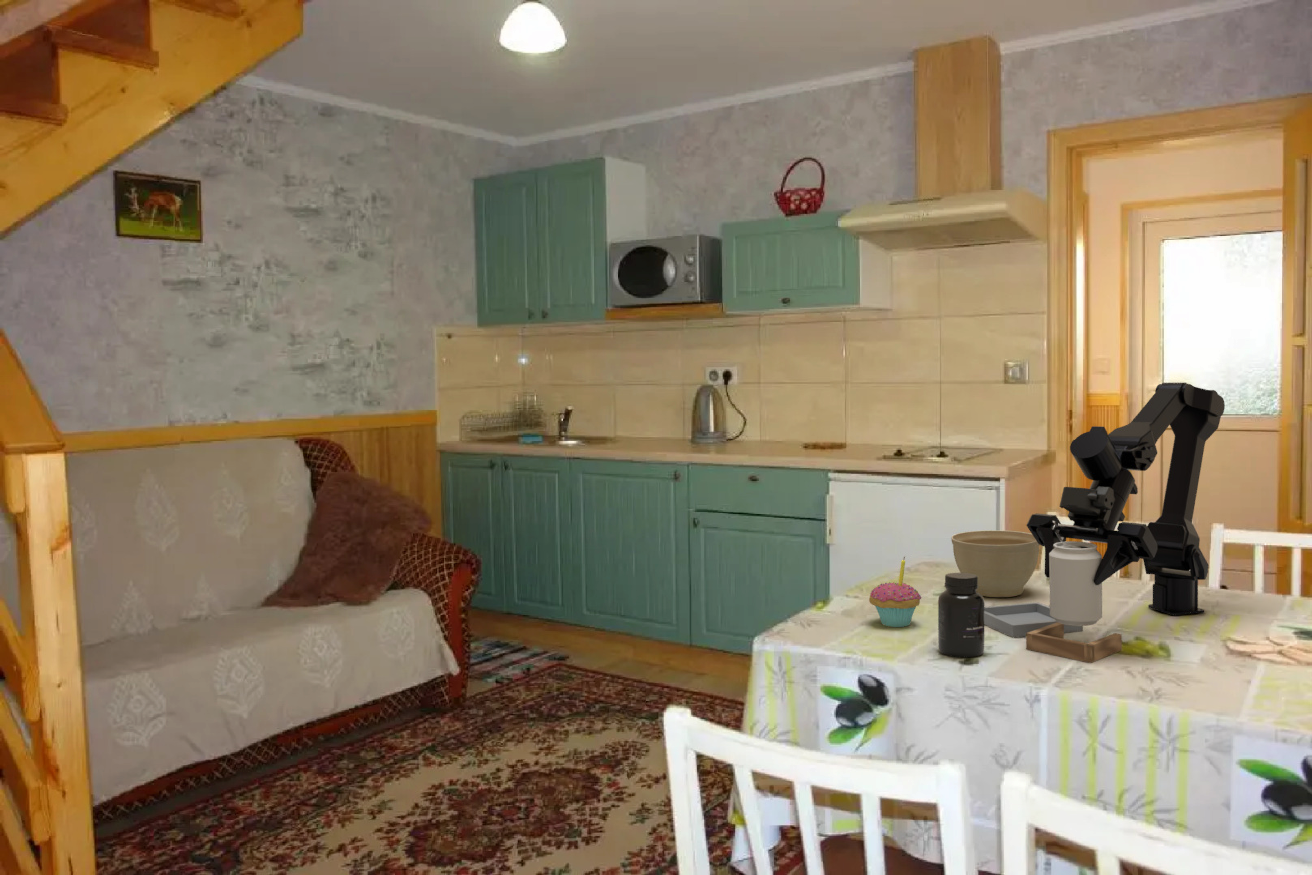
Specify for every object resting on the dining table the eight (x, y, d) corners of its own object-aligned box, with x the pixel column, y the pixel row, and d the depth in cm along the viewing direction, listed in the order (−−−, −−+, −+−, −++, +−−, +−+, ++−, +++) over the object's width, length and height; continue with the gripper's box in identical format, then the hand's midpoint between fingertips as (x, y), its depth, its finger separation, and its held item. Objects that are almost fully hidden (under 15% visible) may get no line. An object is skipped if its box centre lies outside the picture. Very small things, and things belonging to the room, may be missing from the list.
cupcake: (929, 622, 176) (928, 553, 175) (905, 633, 170) (903, 561, 169) (885, 615, 182) (884, 548, 181) (860, 625, 176) (858, 556, 175)
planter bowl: (968, 580, 208) (967, 527, 207) (1050, 588, 198) (1050, 533, 197) (939, 596, 195) (939, 540, 194) (1026, 606, 185) (1026, 546, 184)
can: (1107, 627, 153) (1107, 548, 152) (1054, 627, 154) (1053, 548, 153) (1096, 615, 160) (1095, 539, 159) (1045, 614, 162) (1044, 539, 161)
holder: (1057, 637, 164) (1057, 622, 164) (1121, 650, 156) (1121, 634, 156) (1026, 648, 158) (1026, 633, 158) (1090, 662, 150) (1090, 646, 150)
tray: (1038, 613, 180) (1038, 602, 180) (1082, 630, 167) (1082, 618, 167) (972, 619, 177) (972, 607, 177) (1013, 637, 165) (1013, 625, 165)
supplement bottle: (978, 660, 153) (977, 581, 152) (932, 655, 157) (931, 577, 156) (989, 649, 159) (989, 572, 158) (945, 644, 162) (944, 569, 162)
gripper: (1031, 463, 165) (994, 541, 159) (1148, 470, 151) (1112, 556, 145) (1058, 506, 171) (1022, 582, 165) (1172, 516, 156) (1138, 600, 150)
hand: (1070, 579), depth 156 cm, fingers closed on can, 7 cm apart
